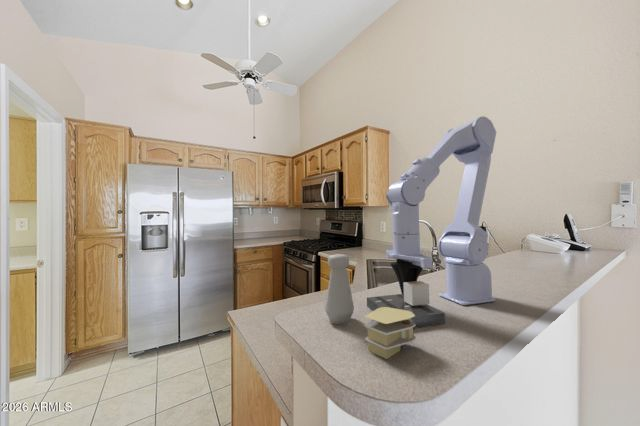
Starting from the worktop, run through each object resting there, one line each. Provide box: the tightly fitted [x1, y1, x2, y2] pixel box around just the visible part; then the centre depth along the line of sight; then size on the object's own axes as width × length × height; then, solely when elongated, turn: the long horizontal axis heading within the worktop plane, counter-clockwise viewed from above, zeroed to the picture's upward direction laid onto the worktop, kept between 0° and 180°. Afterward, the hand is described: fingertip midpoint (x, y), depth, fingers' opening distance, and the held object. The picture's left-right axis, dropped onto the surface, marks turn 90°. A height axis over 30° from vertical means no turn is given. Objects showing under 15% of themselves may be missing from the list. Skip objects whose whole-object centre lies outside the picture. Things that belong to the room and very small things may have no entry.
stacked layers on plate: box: [364, 307, 417, 360], centre depth 39 cm, size 10×9×6 cm
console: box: [366, 293, 446, 329], centre depth 52 cm, size 10×13×2 cm
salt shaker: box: [324, 253, 355, 325], centre depth 50 cm, size 6×6×13 cm
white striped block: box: [403, 280, 430, 306], centre depth 52 cm, size 4×3×4 cm
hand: (407, 295), depth 55 cm, fingers closed
